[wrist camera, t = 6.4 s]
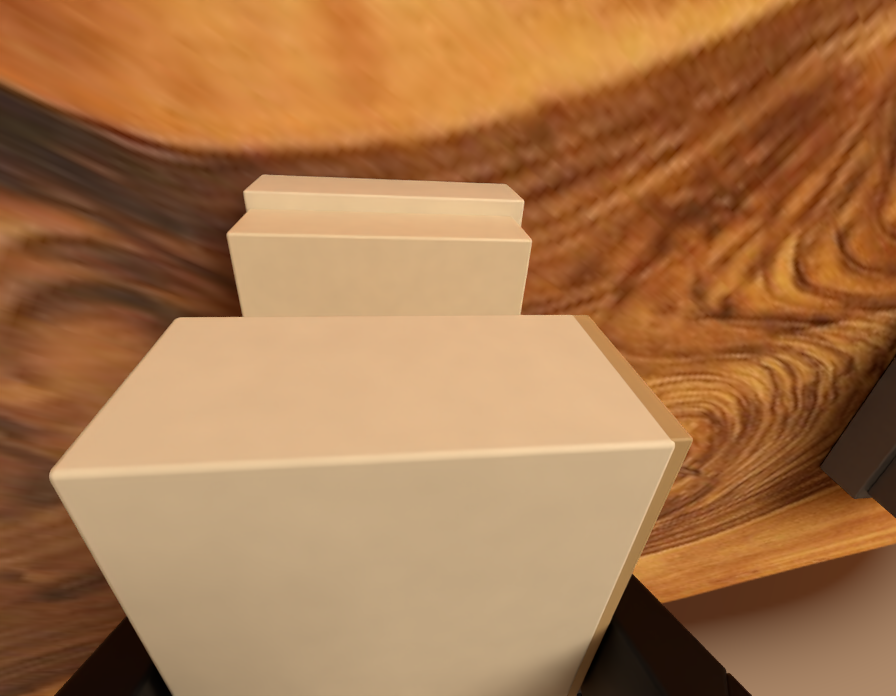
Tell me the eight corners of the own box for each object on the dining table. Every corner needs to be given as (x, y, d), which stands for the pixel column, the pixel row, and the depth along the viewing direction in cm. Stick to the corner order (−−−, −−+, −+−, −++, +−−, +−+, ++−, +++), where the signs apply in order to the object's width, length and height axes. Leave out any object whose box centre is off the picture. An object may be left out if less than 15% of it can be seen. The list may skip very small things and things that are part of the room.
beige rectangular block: (512, 616, 12) (548, 763, 9) (268, 641, 11) (235, 811, 9) (587, 312, 7) (697, 443, 5) (174, 314, 6) (41, 475, 4)
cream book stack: (476, 435, 19) (496, 517, 15) (300, 442, 18) (281, 531, 14) (507, 183, 13) (549, 222, 10) (260, 174, 12) (215, 213, 9)
